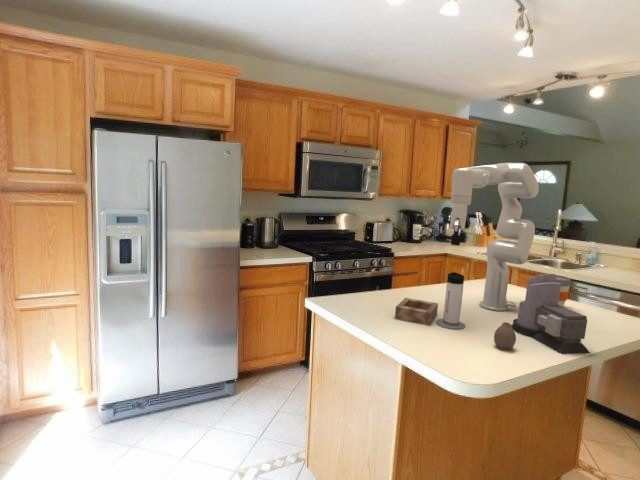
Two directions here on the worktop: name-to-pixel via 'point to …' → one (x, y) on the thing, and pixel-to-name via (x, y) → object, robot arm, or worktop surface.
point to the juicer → (550, 317)
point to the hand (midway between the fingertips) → (456, 243)
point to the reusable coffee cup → (563, 289)
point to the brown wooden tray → (416, 311)
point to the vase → (505, 336)
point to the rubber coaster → (457, 327)
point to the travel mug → (453, 299)
